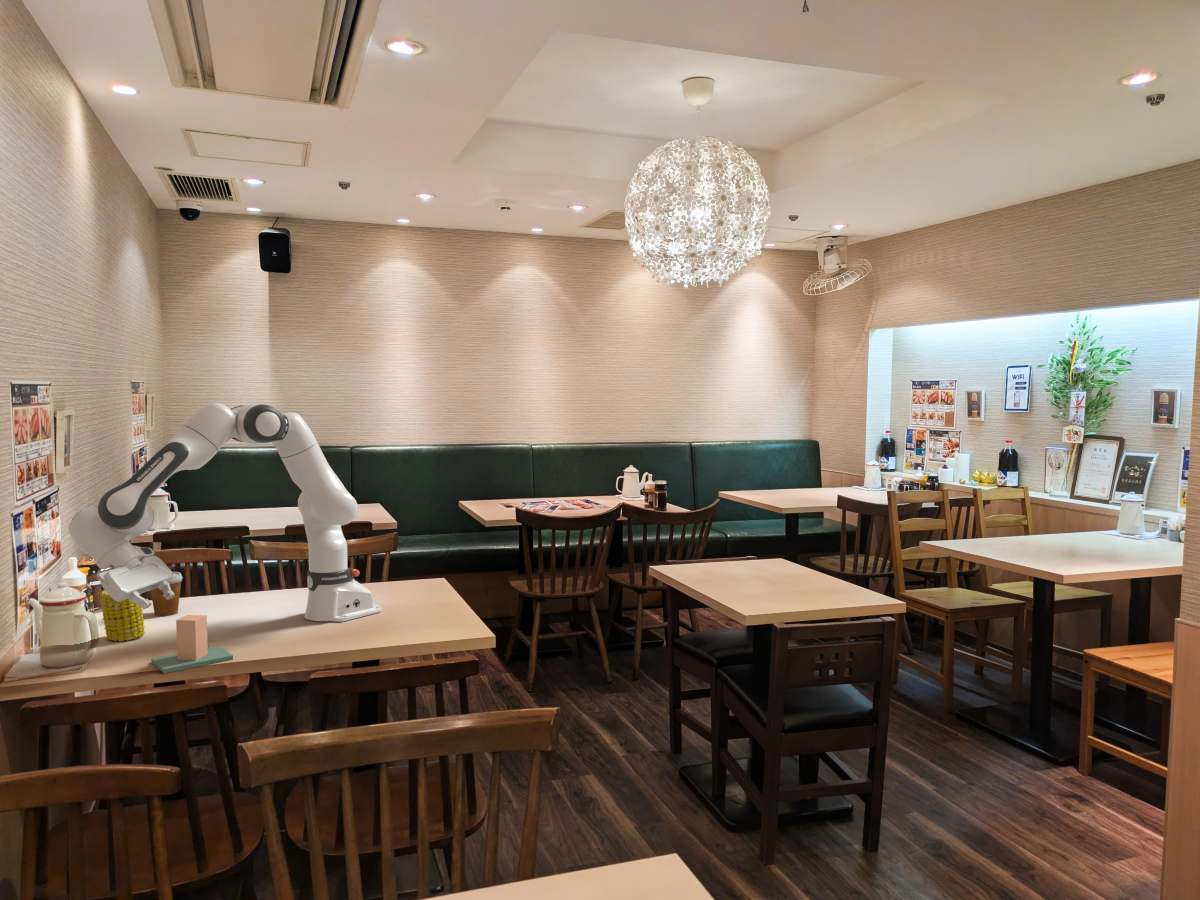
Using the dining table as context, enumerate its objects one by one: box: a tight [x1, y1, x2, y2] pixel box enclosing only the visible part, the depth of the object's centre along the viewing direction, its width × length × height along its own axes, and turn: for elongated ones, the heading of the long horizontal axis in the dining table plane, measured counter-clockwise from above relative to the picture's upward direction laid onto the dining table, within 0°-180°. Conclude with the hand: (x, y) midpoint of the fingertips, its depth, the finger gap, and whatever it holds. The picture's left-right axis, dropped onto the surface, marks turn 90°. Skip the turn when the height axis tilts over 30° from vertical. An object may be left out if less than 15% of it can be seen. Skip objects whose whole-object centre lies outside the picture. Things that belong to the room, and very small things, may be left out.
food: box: [99, 589, 146, 643], centre depth 228 cm, size 15×12×10 cm
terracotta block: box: [175, 614, 209, 660], centre depth 209 cm, size 5×5×10 cm
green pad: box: [150, 645, 234, 674], centre depth 209 cm, size 16×11×1 cm
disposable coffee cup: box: [150, 571, 184, 617], centre depth 254 cm, size 10×10×12 cm
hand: (160, 602), depth 209 cm, fingers open, 8 cm apart
